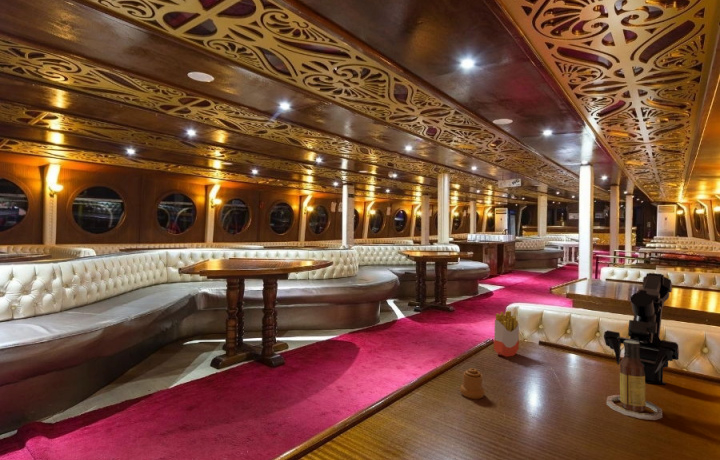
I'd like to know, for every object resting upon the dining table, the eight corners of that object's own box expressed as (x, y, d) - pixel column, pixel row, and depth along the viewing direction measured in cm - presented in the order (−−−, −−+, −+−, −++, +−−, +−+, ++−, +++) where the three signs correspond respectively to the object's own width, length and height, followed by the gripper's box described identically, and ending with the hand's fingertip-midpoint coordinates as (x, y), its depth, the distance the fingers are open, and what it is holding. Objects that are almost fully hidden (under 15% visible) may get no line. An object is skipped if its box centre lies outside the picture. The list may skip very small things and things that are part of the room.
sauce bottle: (649, 410, 114) (651, 343, 114) (639, 415, 111) (641, 346, 111) (624, 401, 120) (626, 338, 120) (614, 405, 117) (616, 340, 117)
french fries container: (519, 354, 164) (520, 312, 165) (502, 358, 159) (504, 314, 159) (510, 351, 168) (511, 310, 168) (493, 354, 163) (494, 312, 163)
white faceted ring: (643, 400, 121) (643, 397, 121) (673, 421, 108) (673, 417, 108) (598, 397, 122) (598, 393, 122) (622, 417, 109) (622, 413, 109)
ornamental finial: (466, 388, 127) (488, 395, 122) (455, 394, 121) (477, 402, 116) (467, 363, 127) (489, 369, 122) (456, 369, 121) (478, 375, 116)
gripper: (605, 305, 127) (596, 345, 119) (679, 315, 114) (673, 361, 106) (610, 325, 132) (601, 365, 124) (681, 337, 119) (676, 382, 111)
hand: (635, 367), depth 116 cm, fingers open, 9 cm apart
